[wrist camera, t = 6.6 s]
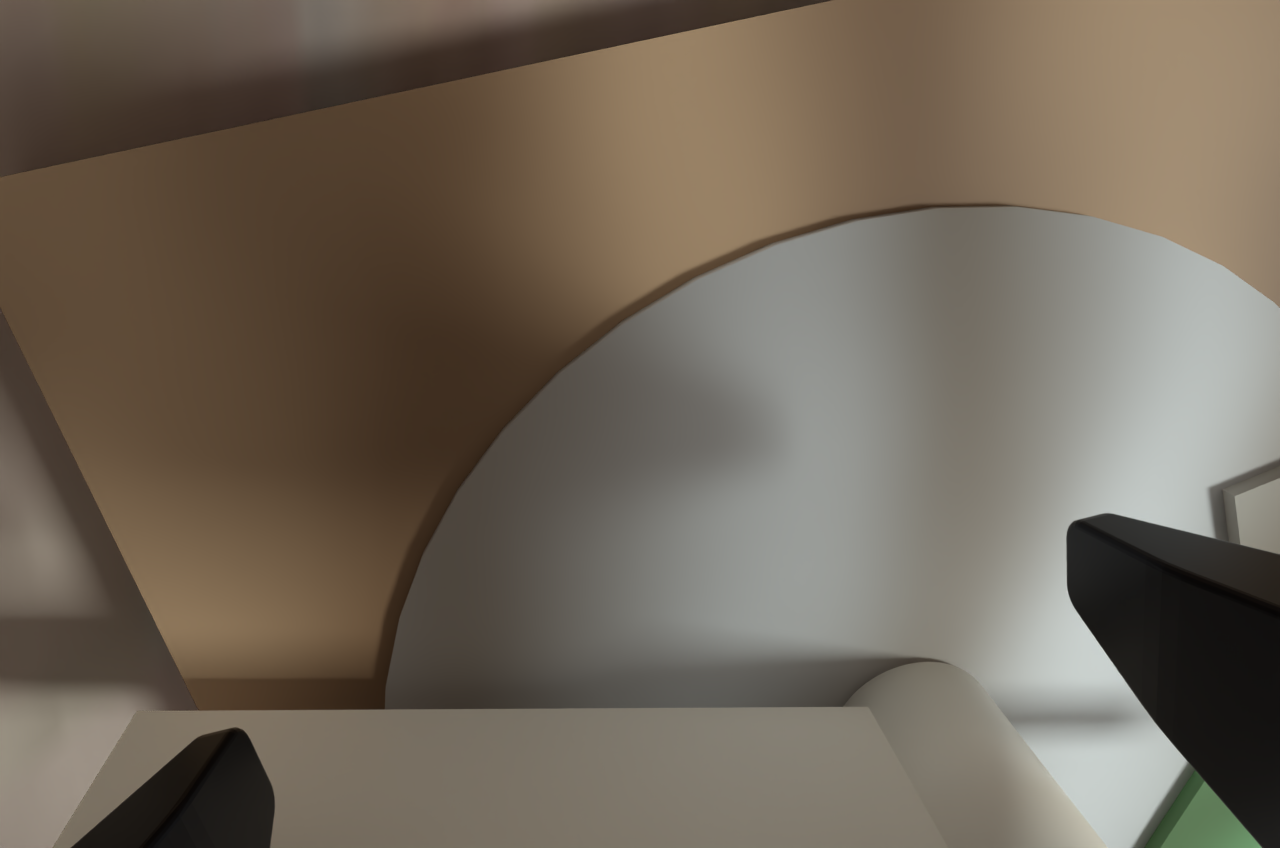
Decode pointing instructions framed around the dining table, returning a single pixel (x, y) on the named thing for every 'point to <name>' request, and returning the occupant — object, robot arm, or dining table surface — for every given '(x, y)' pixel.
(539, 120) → the tuner board
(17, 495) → the dining table surface
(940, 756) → the dial pointer lever
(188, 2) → the dining table surface
